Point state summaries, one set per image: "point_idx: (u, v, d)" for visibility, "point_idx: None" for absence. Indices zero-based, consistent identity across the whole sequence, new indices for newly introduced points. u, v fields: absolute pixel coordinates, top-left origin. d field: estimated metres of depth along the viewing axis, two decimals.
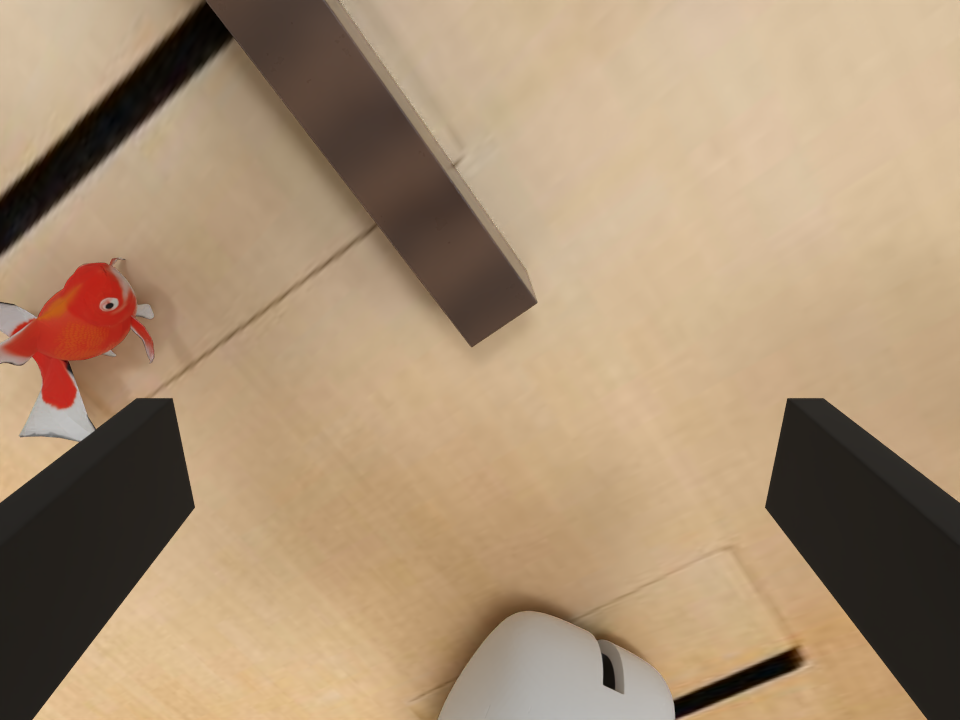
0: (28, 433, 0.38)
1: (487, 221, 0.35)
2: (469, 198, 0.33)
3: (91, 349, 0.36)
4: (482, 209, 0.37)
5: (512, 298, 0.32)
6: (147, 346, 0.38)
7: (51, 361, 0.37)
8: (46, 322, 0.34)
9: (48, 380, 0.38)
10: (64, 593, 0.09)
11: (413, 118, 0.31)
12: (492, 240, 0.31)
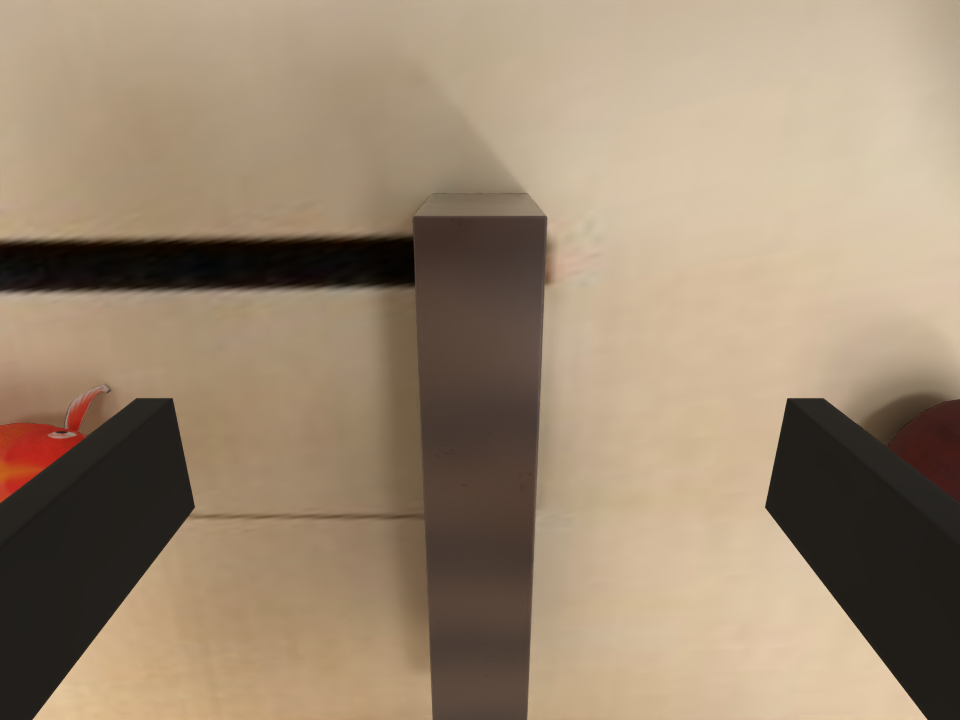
0: None
1: None
2: None
3: None
4: None
5: None
6: None
7: None
8: None
9: None
10: (63, 593, 0.09)
11: None
12: (526, 694, 0.27)
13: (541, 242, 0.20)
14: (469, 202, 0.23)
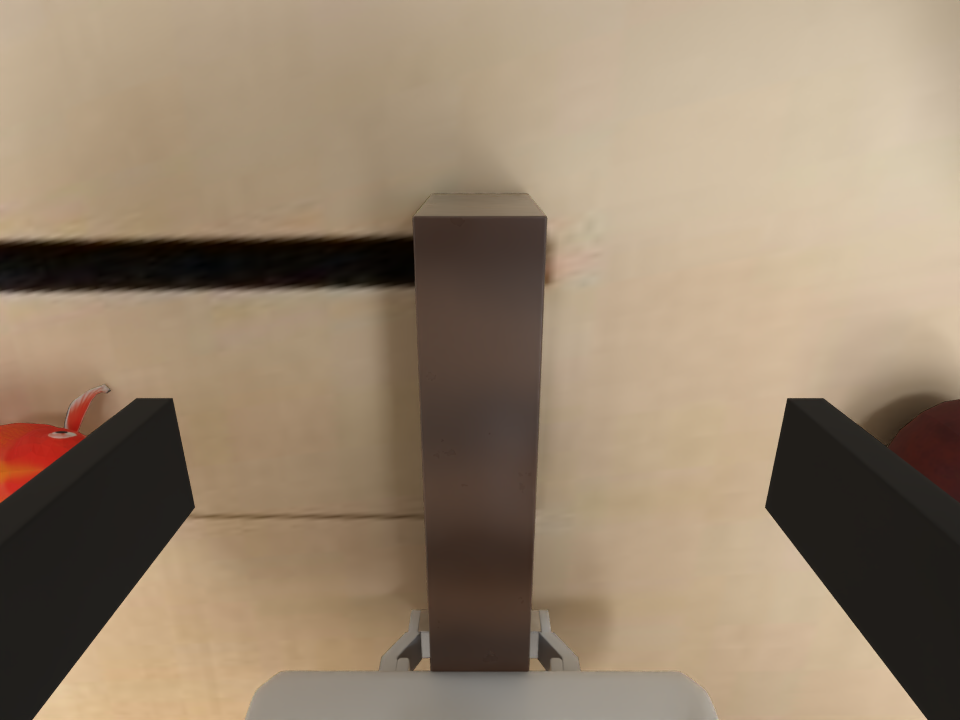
0: None
1: None
2: None
3: None
4: None
5: None
6: None
7: None
8: None
9: None
10: (63, 593, 0.09)
11: None
12: None
13: (541, 242, 0.20)
14: (469, 202, 0.23)
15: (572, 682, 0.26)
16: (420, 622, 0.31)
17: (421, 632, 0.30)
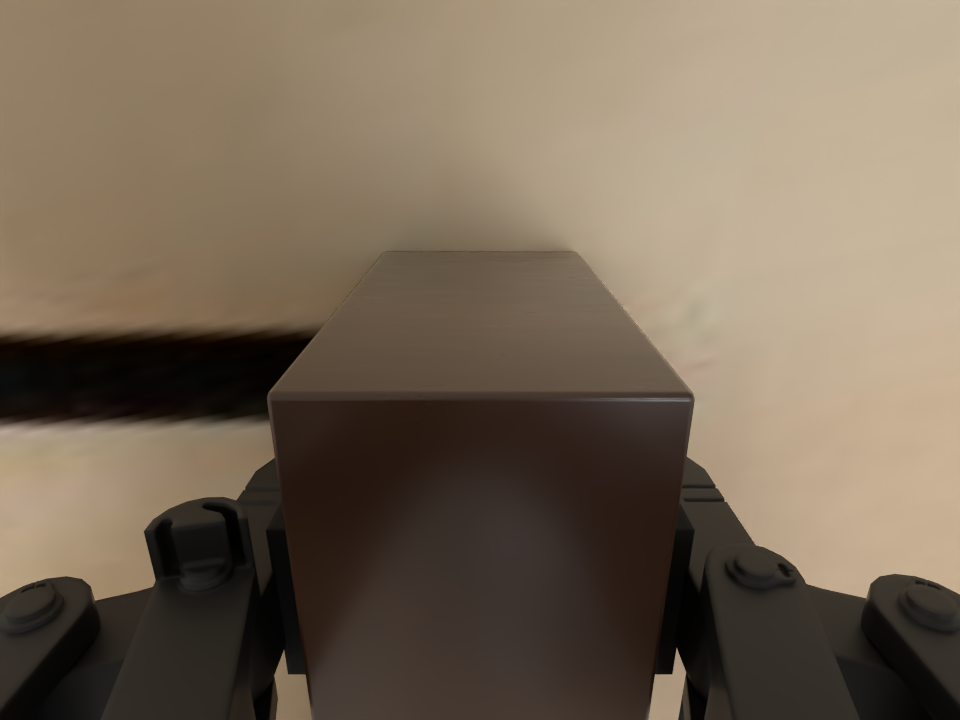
0: None
1: None
2: None
3: None
4: None
5: None
6: None
7: None
8: None
9: None
10: None
11: None
12: None
13: (672, 467, 0.06)
14: (456, 292, 0.10)
15: None
16: None
17: None
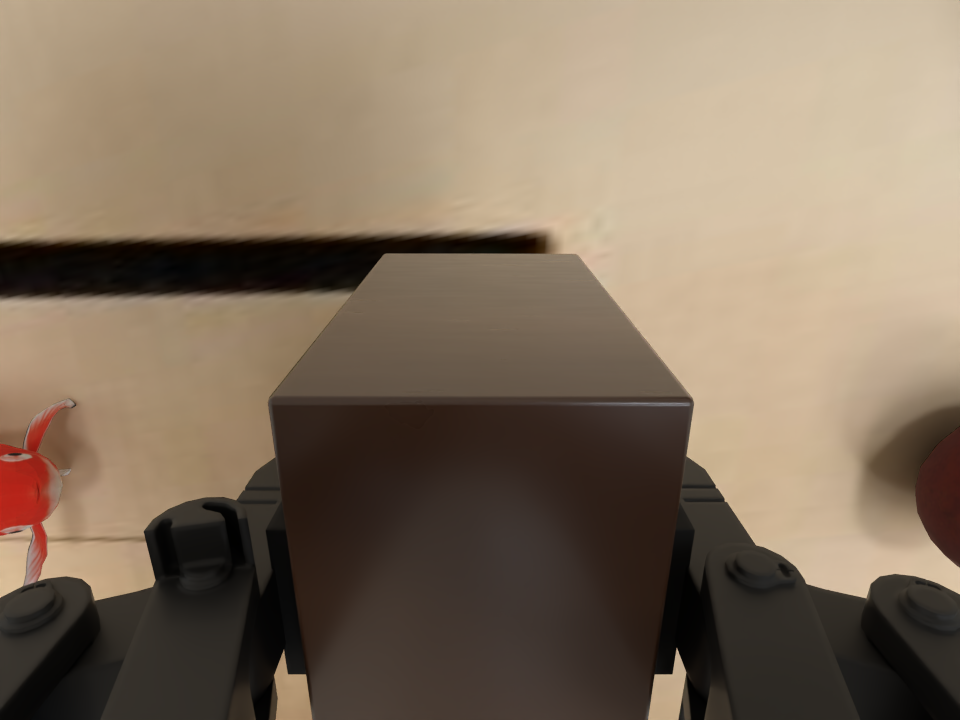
0: None
1: None
2: None
3: None
4: None
5: None
6: (34, 546, 0.26)
7: None
8: None
9: None
10: None
11: None
12: None
13: (671, 471, 0.06)
14: (456, 295, 0.10)
15: None
16: None
17: None
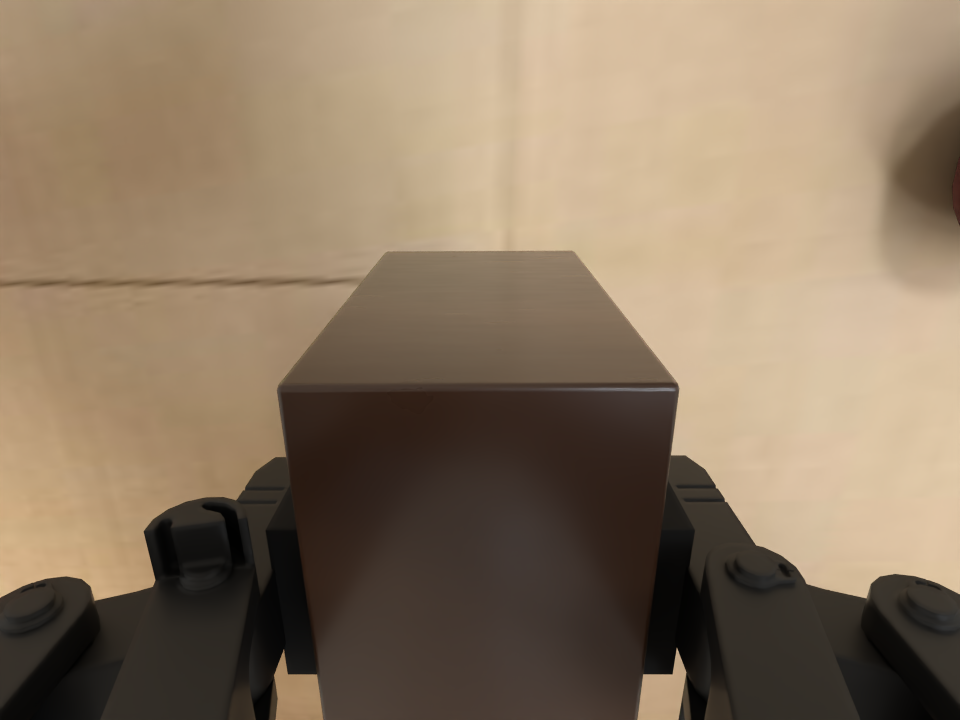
0: None
1: None
2: None
3: None
4: None
5: None
6: None
7: None
8: None
9: None
10: None
11: None
12: None
13: (658, 454, 0.07)
14: (455, 291, 0.10)
15: None
16: None
17: None
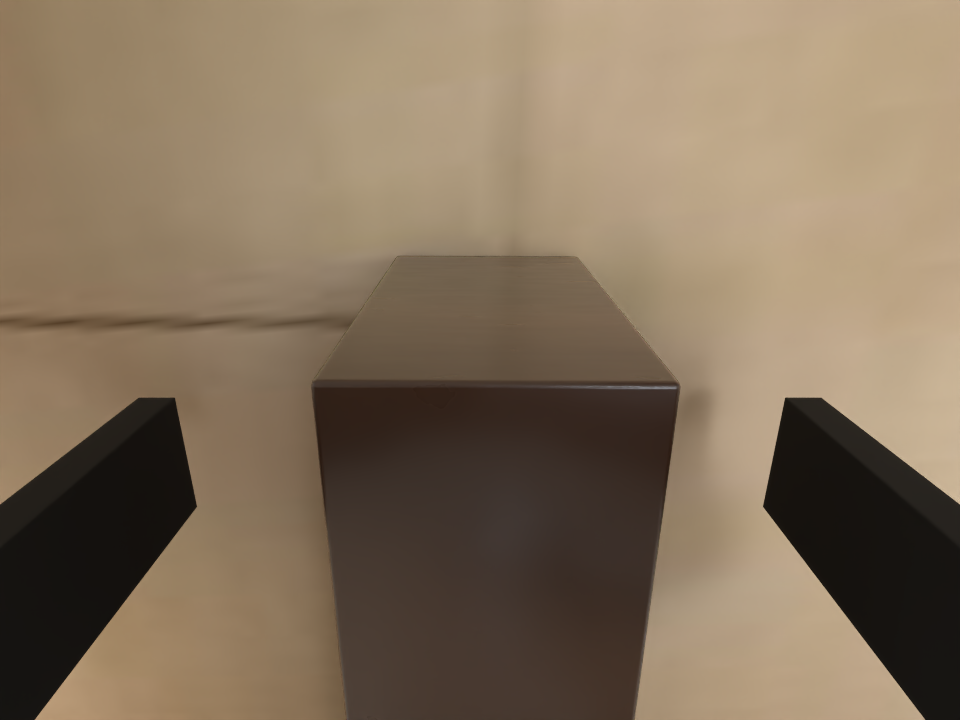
0: None
1: None
2: None
3: None
4: None
5: None
6: None
7: None
8: None
9: None
10: (67, 592, 0.09)
11: None
12: None
13: (660, 447, 0.07)
14: (467, 294, 0.11)
15: None
16: None
17: None
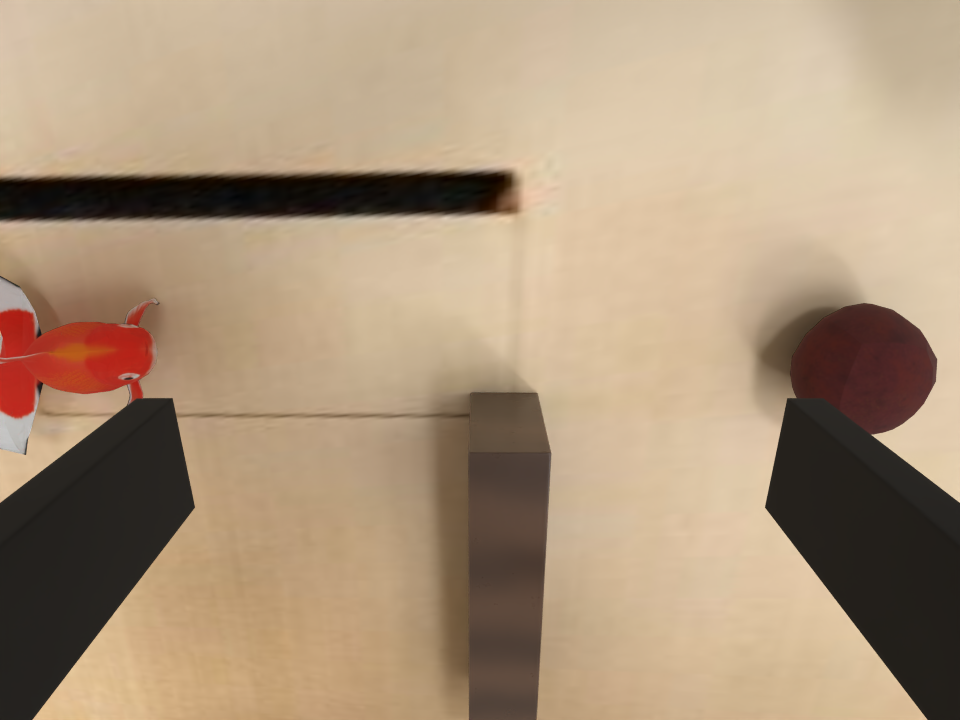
0: None
1: None
2: None
3: (78, 391, 0.33)
4: None
5: None
6: None
7: (23, 364, 0.34)
8: (54, 359, 0.31)
9: (6, 376, 0.34)
10: (64, 593, 0.09)
11: None
12: None
13: (547, 467, 0.32)
14: (499, 418, 0.36)
15: None
16: None
17: None
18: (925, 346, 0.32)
